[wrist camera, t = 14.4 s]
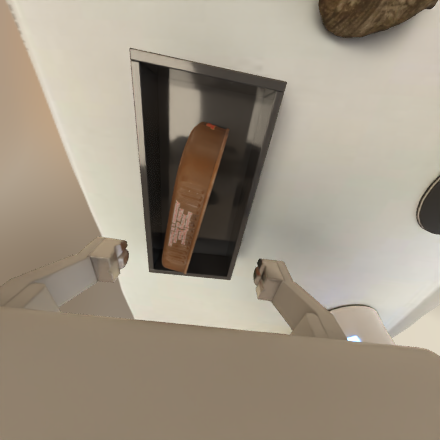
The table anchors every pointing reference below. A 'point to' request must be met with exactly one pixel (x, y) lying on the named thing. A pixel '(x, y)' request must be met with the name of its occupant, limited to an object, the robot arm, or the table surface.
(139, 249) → the table surface
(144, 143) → the open rectangular box
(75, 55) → the table surface
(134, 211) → the table surface
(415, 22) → the table surface
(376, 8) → the fossilized seashell
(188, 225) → the tin
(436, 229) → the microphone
